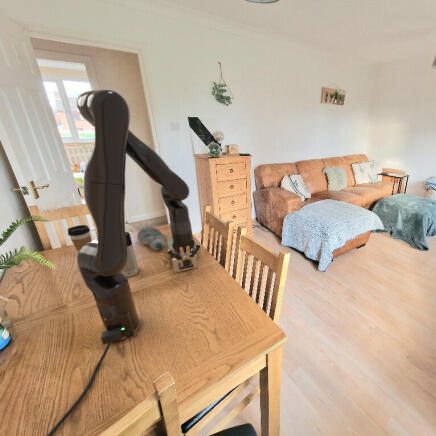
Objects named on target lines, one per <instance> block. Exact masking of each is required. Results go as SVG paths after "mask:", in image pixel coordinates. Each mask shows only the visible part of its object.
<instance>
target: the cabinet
mask: <svg viewBox="0 0 436 436" xmlns="http://www.w3.org/2000/svg"><path fill="white" fill-rule="evenodd" d="M172 244H173V240H172V236H171V237H167V245H168V249H170V248H171V247H172ZM192 248H194V246H193V247H192ZM174 250H175V249H174ZM169 257H170V263H171V266H173V262H172V259H174V258H173V256H171V255H170V254H169Z"/></svg>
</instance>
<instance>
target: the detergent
mask: <svg viewBox="0 0 436 436" xmlns="http://www.w3.org/2000/svg"><path fill="white" fill-rule="evenodd" d="M165 239H166V236H165V234H164V233H162V232H161V231H160V230H159V229H157V228H156V227H153V226H145V227H142V228H141V229H140V230H139V231H138V232H137V240H138V241H140V242H142V244H145V245H149V247H150V248H151V249H153V250H155V251H159V250H162V249H163V248H164V247H165V245H166V241H165Z"/></svg>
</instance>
